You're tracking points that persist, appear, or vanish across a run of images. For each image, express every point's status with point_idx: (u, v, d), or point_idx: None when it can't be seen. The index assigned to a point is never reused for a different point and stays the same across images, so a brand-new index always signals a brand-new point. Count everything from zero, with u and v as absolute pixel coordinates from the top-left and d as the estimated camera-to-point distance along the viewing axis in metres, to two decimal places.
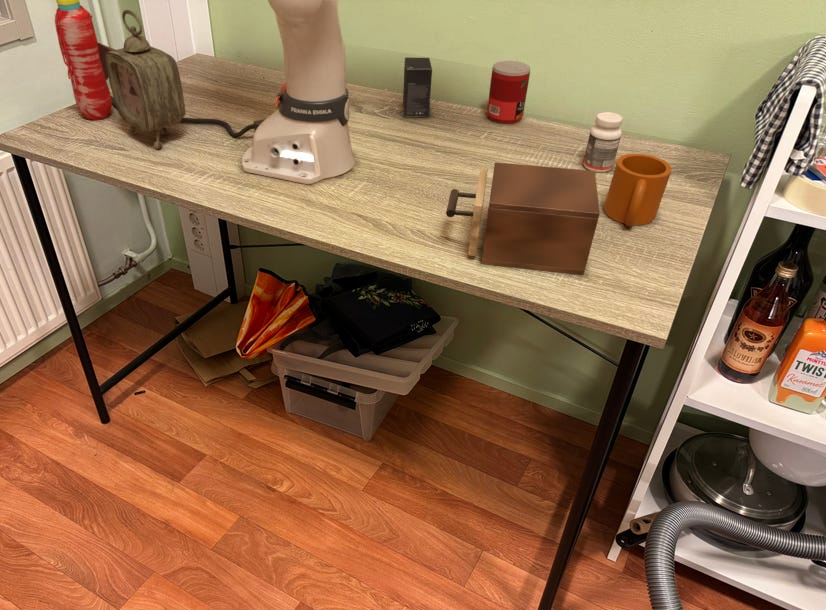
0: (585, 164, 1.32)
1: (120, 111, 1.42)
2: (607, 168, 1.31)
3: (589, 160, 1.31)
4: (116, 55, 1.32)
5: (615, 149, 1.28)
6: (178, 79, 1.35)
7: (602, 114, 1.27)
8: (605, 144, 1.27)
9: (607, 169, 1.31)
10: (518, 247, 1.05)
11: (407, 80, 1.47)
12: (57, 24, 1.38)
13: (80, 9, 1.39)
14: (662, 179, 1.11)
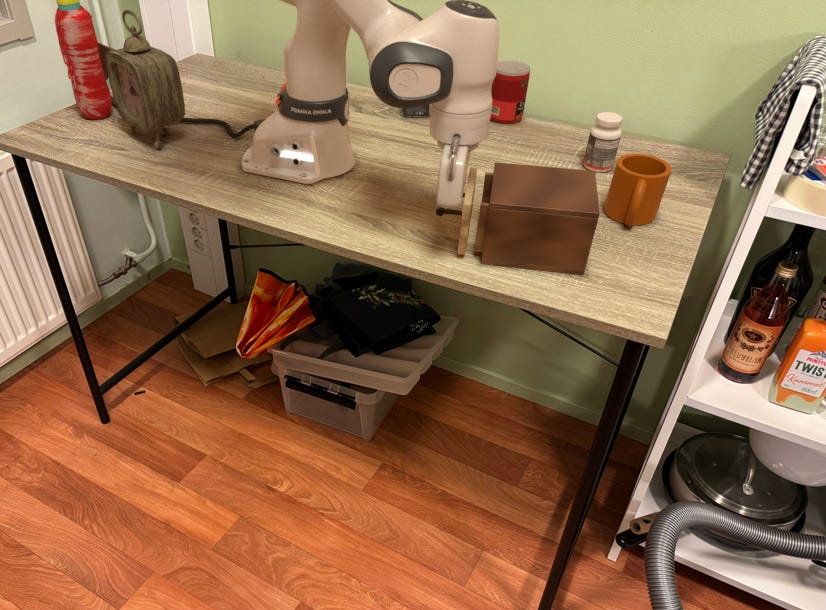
0: (585, 164, 1.32)
1: (120, 111, 1.42)
2: (607, 168, 1.31)
3: (589, 160, 1.31)
4: (116, 55, 1.32)
5: (615, 149, 1.28)
6: (178, 79, 1.35)
7: (602, 114, 1.27)
8: (605, 144, 1.27)
9: (607, 169, 1.31)
10: (518, 247, 1.05)
11: None
12: (57, 24, 1.38)
13: (80, 9, 1.39)
14: (662, 179, 1.11)
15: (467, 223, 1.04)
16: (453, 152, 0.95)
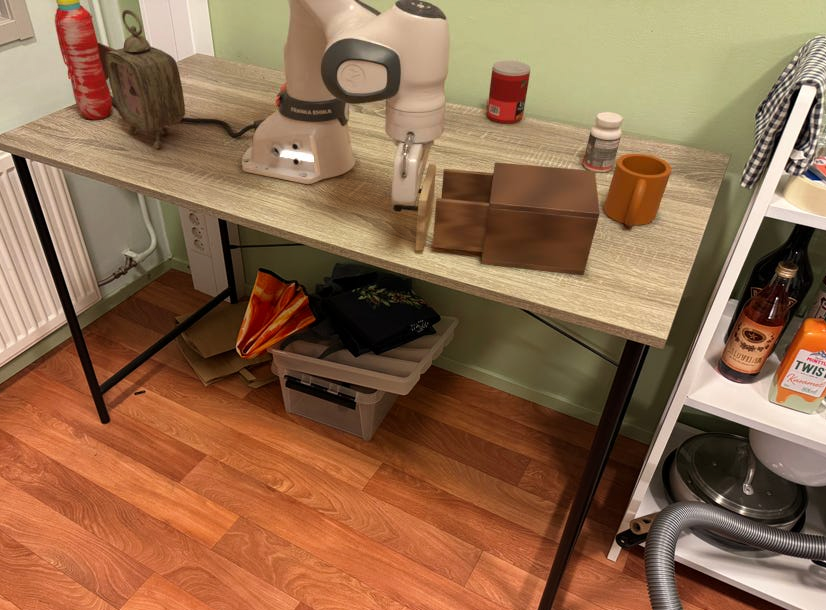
0: (585, 164, 1.32)
1: (120, 111, 1.42)
2: (607, 168, 1.31)
3: (589, 160, 1.31)
4: (116, 55, 1.32)
5: (615, 149, 1.28)
6: (178, 79, 1.35)
7: (602, 114, 1.27)
8: (605, 144, 1.27)
9: (607, 169, 1.31)
10: (518, 247, 1.05)
11: None
12: (57, 24, 1.38)
13: (80, 9, 1.39)
14: (662, 179, 1.11)
15: (423, 219, 1.06)
16: (405, 150, 0.96)
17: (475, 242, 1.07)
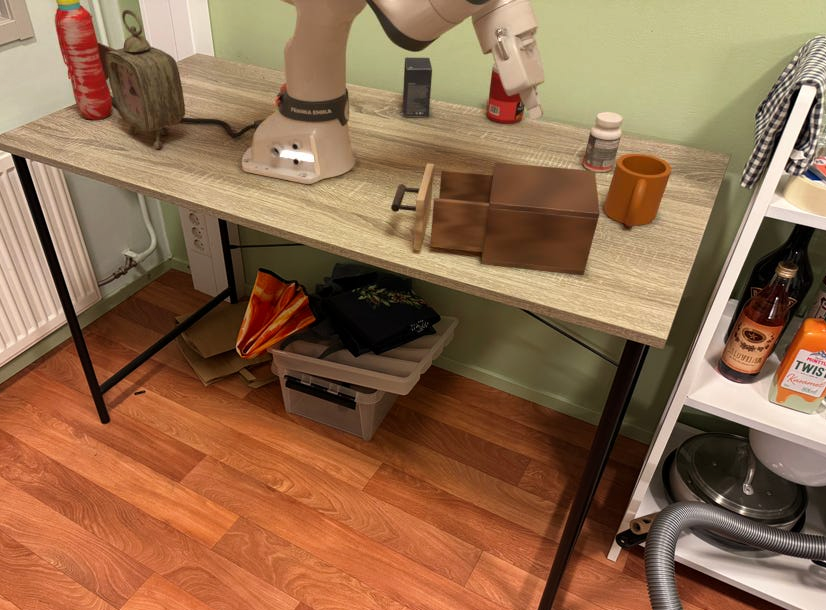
0: (585, 164, 1.32)
1: (120, 111, 1.42)
2: (607, 168, 1.31)
3: (589, 160, 1.31)
4: (116, 55, 1.32)
5: (615, 149, 1.28)
6: (178, 79, 1.35)
7: (602, 114, 1.27)
8: (605, 144, 1.27)
9: (607, 169, 1.31)
10: (518, 247, 1.05)
11: (407, 80, 1.47)
12: (57, 24, 1.38)
13: (80, 9, 1.39)
14: (662, 179, 1.11)
15: (421, 218, 1.06)
16: (497, 32, 0.96)
17: (473, 241, 1.07)
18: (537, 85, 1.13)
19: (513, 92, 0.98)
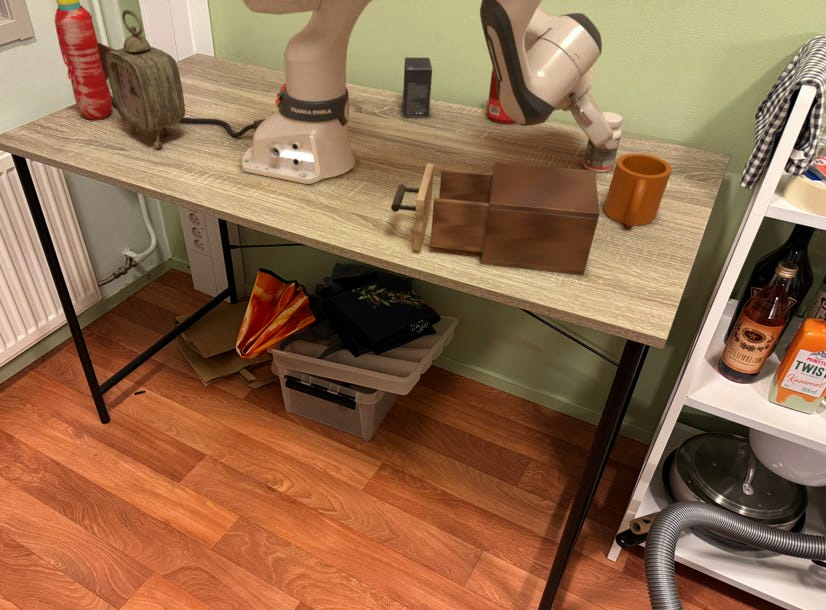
0: (585, 164, 1.32)
1: (120, 111, 1.42)
2: (607, 168, 1.31)
3: (589, 160, 1.31)
4: (116, 55, 1.32)
5: (615, 149, 1.28)
6: (178, 79, 1.35)
7: None
8: None
9: (607, 169, 1.31)
10: (518, 247, 1.05)
11: (407, 80, 1.47)
12: (57, 24, 1.38)
13: (80, 9, 1.39)
14: (662, 179, 1.11)
15: (421, 218, 1.06)
16: (578, 106, 1.16)
17: (473, 241, 1.07)
18: None
19: (602, 143, 1.20)
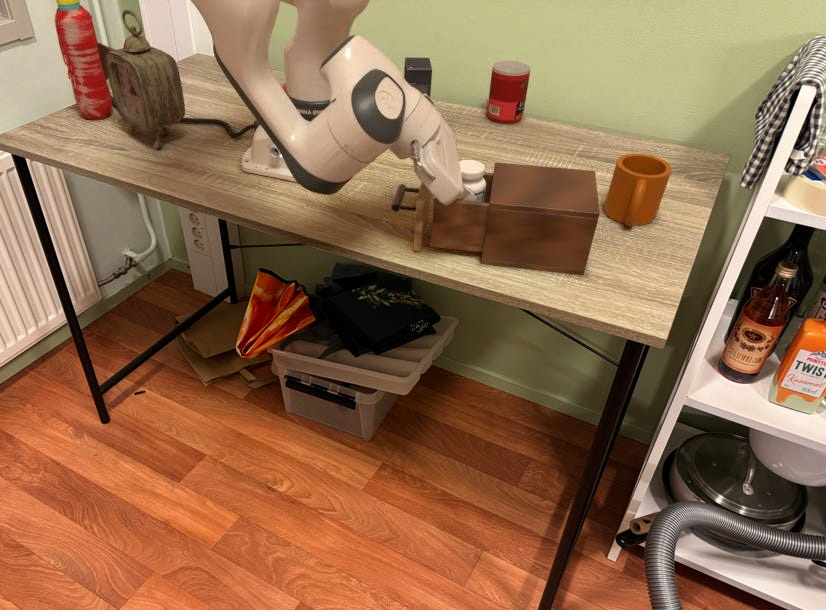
0: None
1: (120, 111, 1.42)
2: None
3: None
4: (116, 55, 1.32)
5: None
6: (178, 79, 1.35)
7: (462, 162, 1.06)
8: None
9: None
10: (518, 247, 1.05)
11: (407, 80, 1.47)
12: (57, 24, 1.38)
13: (80, 9, 1.39)
14: (662, 179, 1.11)
15: (421, 218, 1.06)
16: (415, 159, 0.95)
17: (473, 241, 1.07)
18: None
19: (451, 202, 0.99)
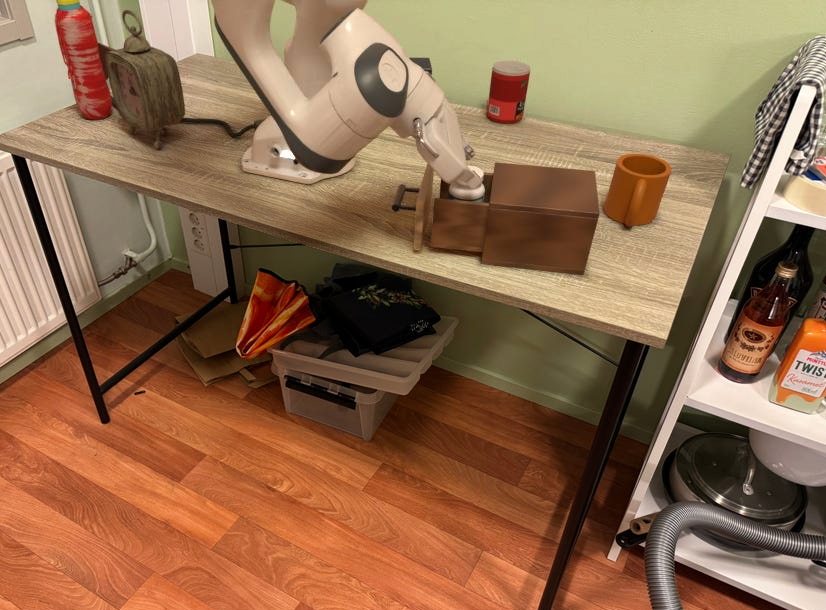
0: None
1: (120, 111, 1.42)
2: None
3: None
4: (116, 55, 1.32)
5: None
6: (178, 79, 1.35)
7: None
8: None
9: None
10: (518, 247, 1.05)
11: None
12: (57, 24, 1.38)
13: (80, 9, 1.39)
14: (662, 179, 1.11)
15: (421, 218, 1.06)
16: (418, 135, 0.93)
17: (473, 241, 1.07)
18: None
19: (454, 180, 0.97)
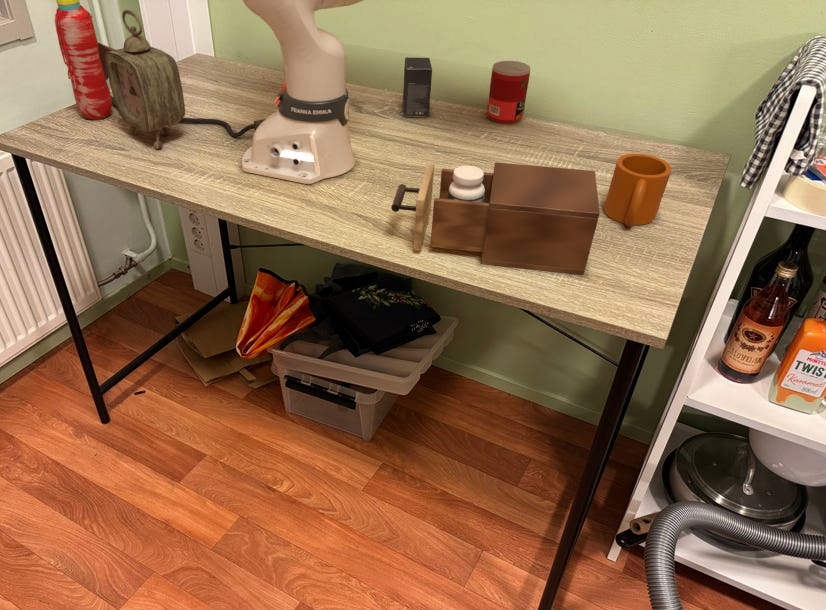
0: None
1: (120, 111, 1.42)
2: None
3: None
4: (116, 55, 1.32)
5: None
6: (178, 79, 1.35)
7: (461, 168, 1.06)
8: None
9: None
10: (518, 247, 1.05)
11: (407, 80, 1.47)
12: (57, 24, 1.38)
13: (80, 9, 1.39)
14: (662, 179, 1.11)
15: (421, 218, 1.06)
16: None
17: (473, 241, 1.07)
18: None
19: None
